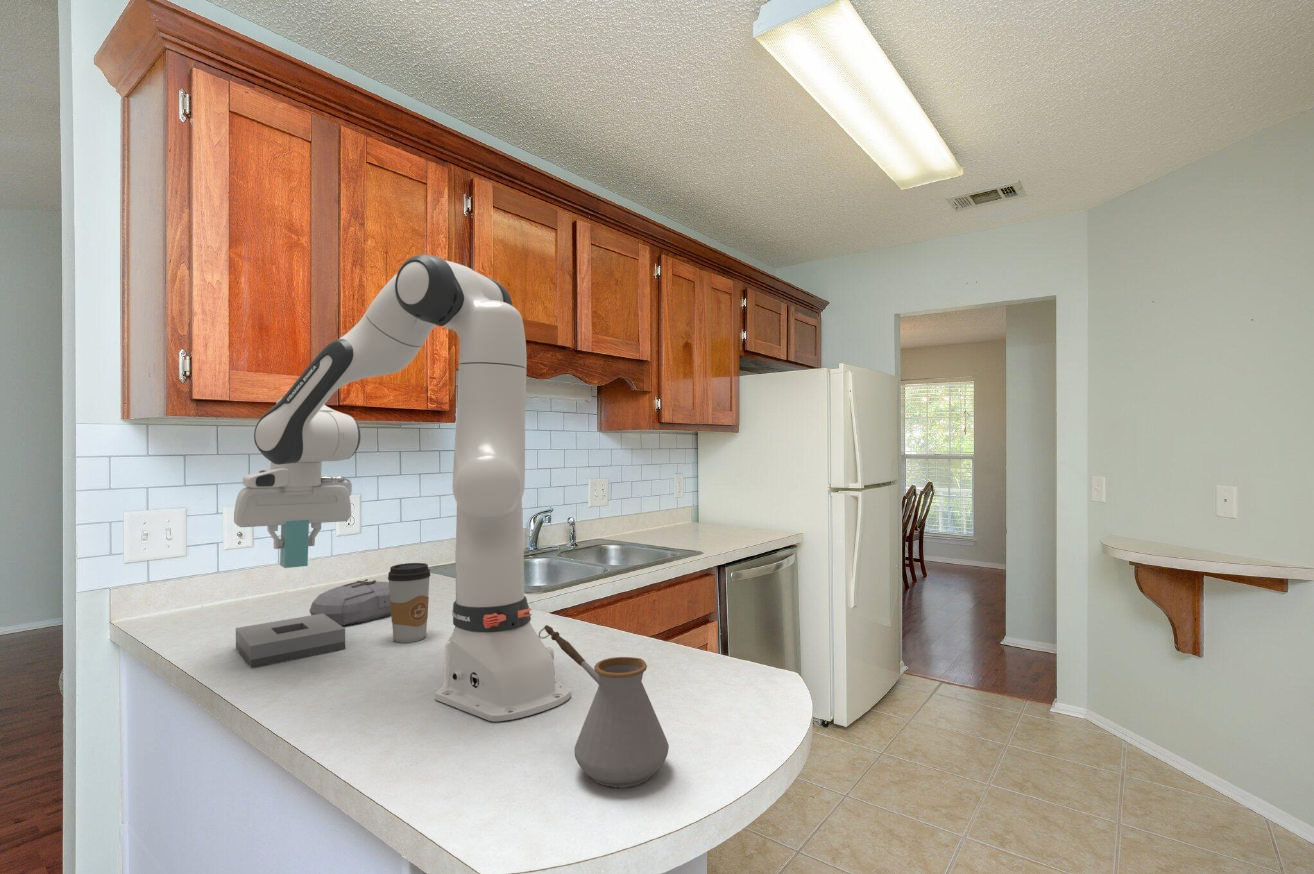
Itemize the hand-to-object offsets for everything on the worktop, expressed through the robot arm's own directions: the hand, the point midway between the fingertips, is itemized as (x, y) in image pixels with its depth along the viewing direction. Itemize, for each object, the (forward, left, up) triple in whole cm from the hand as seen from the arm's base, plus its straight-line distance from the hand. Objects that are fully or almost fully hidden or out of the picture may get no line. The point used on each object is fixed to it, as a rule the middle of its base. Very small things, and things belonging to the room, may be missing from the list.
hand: (294, 547), depth 127 cm
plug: (0, 0, -4) cm, 4 cm away
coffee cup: (-8, -20, -21) cm, 29 cm away
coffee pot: (-76, -18, -21) cm, 81 cm away
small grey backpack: (+18, -17, -21) cm, 32 cm away
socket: (+2, 0, -20) cm, 20 cm away
